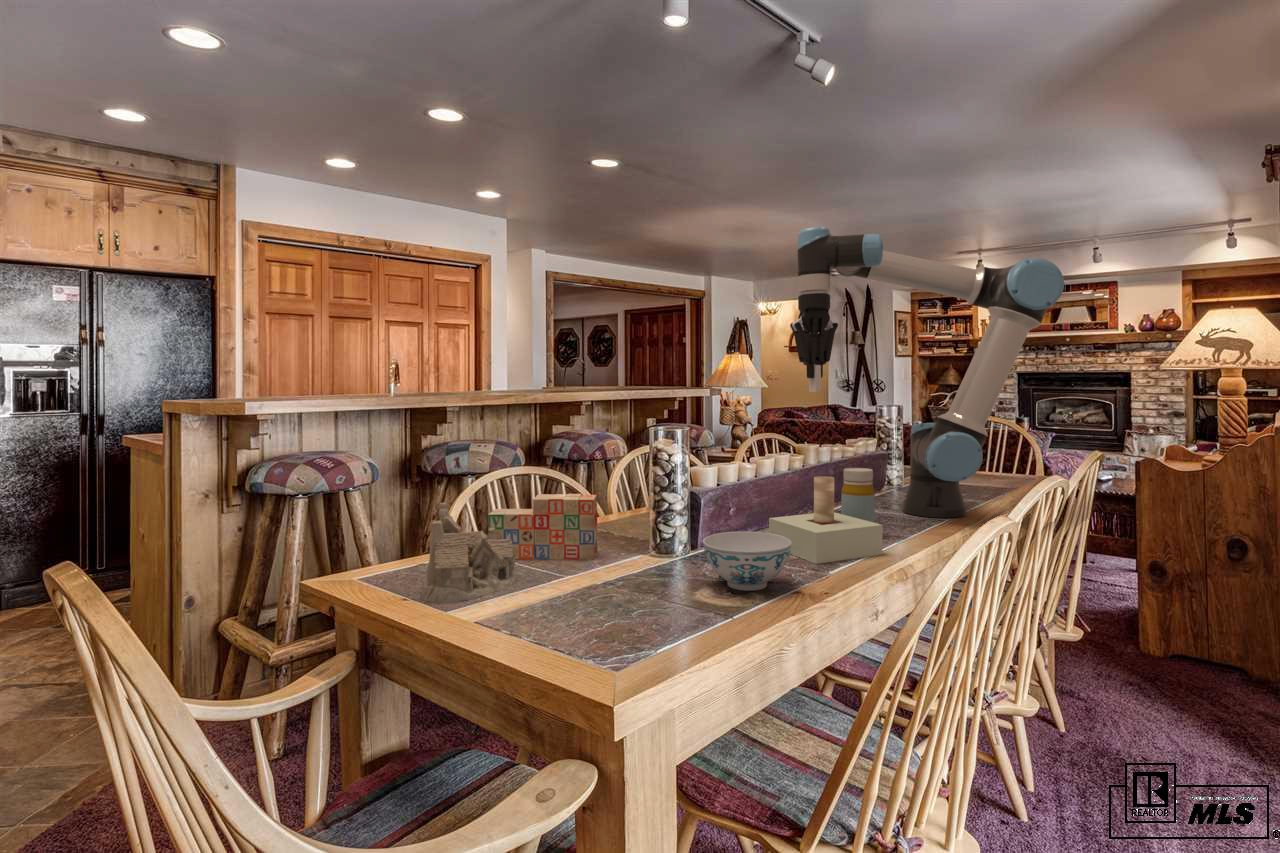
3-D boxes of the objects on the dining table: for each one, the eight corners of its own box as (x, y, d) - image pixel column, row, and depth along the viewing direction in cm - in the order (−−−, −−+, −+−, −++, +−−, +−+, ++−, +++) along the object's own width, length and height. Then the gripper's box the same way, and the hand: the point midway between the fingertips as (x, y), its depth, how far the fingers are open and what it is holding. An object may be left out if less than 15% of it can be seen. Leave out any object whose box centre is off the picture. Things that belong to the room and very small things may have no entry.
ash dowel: (825, 542, 150) (826, 475, 149) (838, 546, 146) (838, 478, 145) (809, 544, 148) (809, 477, 147) (821, 548, 144) (822, 479, 143)
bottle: (834, 535, 160) (834, 468, 159) (858, 532, 163) (859, 466, 162) (856, 541, 154) (856, 472, 153) (881, 538, 157) (881, 470, 156)
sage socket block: (830, 538, 158) (831, 511, 157) (882, 554, 143) (882, 524, 142) (769, 546, 151) (769, 518, 151) (816, 563, 137) (816, 532, 136)
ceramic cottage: (410, 603, 116) (414, 510, 115) (434, 578, 132) (438, 497, 132) (507, 606, 116) (511, 514, 116) (520, 581, 133) (523, 501, 132)
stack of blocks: (488, 560, 144) (486, 499, 143) (496, 552, 150) (494, 494, 149) (595, 559, 143) (594, 498, 142) (598, 552, 149) (597, 493, 148)
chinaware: (803, 579, 126) (803, 536, 126) (773, 603, 113) (773, 555, 113) (724, 569, 134) (724, 528, 133) (688, 590, 121) (687, 545, 120)
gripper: (825, 296, 179) (825, 391, 181) (782, 294, 174) (783, 392, 175) (845, 292, 172) (846, 391, 174) (802, 291, 167) (803, 392, 168)
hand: (814, 391), depth 175 cm, fingers closed
